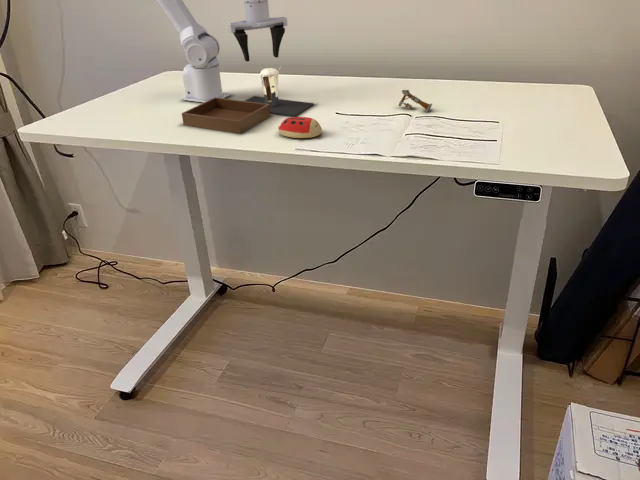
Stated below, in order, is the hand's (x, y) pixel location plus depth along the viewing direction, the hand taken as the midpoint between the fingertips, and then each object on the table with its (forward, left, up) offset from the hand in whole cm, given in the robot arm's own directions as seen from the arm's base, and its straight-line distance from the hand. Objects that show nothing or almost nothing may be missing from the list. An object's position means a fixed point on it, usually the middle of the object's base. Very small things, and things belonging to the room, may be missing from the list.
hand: (261, 58), depth 143 cm
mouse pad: (+5, -5, -10) cm, 13 cm away
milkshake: (+6, -5, -10) cm, 13 cm away
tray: (0, -18, -10) cm, 21 cm away
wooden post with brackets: (+39, +5, -11) cm, 41 cm away
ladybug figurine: (+21, -20, -11) cm, 31 cm away
